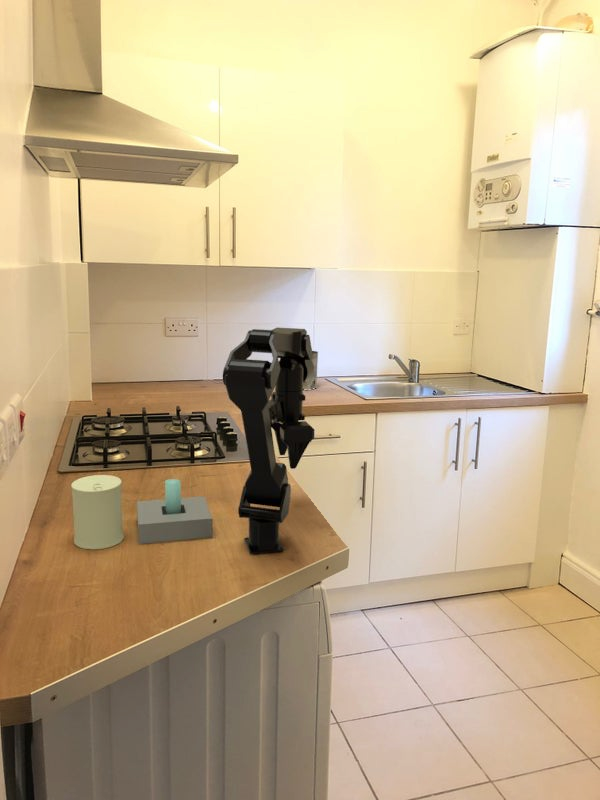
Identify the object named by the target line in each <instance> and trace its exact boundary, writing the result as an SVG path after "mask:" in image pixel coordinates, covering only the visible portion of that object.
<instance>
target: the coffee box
mask: <svg viewBox="0 0 600 800" xmlns="http://www.w3.org/2000/svg"><path fill="white" fill-rule="evenodd" d="M312 354H313V359H312V362H313V365H314V372H313V374H312V376H311V377H310V378H308V379H307V380H306V381H304V382H303V389H307V390H308V389H313V388H316V389H317V385H318V384H317V383H318V381H317V379H318V361H319V360H318V359H319V358H318V357H319V355H318V354H319V351H316V350H312Z"/></svg>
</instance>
